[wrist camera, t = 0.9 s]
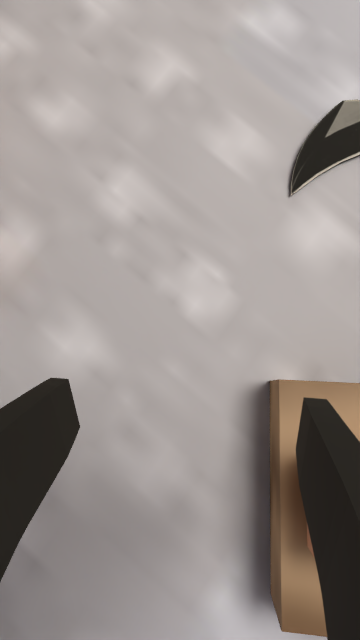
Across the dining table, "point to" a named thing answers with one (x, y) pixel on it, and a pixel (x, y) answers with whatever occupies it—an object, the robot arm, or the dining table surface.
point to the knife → (329, 143)
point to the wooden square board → (298, 502)
